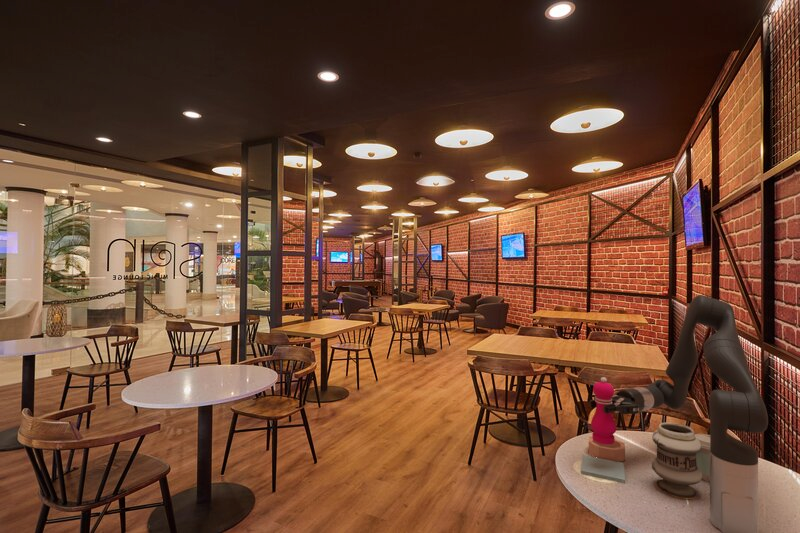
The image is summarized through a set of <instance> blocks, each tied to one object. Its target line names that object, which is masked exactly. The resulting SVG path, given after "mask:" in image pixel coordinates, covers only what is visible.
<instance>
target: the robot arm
mask: <svg viewBox="0 0 800 533" xmlns="http://www.w3.org/2000/svg"><path fill="white" fill-rule="evenodd" d="M697 324H699V325H702V326H705V327H709V328H712V329H714V330H715V333H713V334H712V335H710V336H709V337H708V338H707V339H706V340H705V341H704V344H703V347H702V350H703V355H704V358H705V364H706V366H707V367H708V369H709V370H710V372H712V373H713V374H714V375H715V376H716V377H717V378H718V379H720V380H721V381H722V382H724V383H725V384H727V385H728V386H729V387H730V388H731V389H732V390H734V391H731V390H726V389H725V390H724V389H714V390H712V391H711V392H710V395H709V400H708V408H709V409H708V410H709V425H710V427H709V428H710V430H709V431H710V433H709V435H710V482H709V522H710V523H711V524H712V525H713V526H714V527H716V528H717V529H718V530H720V531H721V533H758V526H759V525H758V523H759V522H758V515H759V514H758V511H759V510H758V508H759V506H758V505H759V502H758V500H759V499H758V498H759V496H758V495H759V454H758V450H757V449H756V448H755V447H753V446H752V445H750V444H748V443H746V442H744V441H742V440H739V439H738V438H736V437H734V436H733V435H731V434H730V433H728V430H731V431H739V432H743V433H744V432H745V433H753V434H763V433H764V432H765V431H766V430H768V425H769V416H768V411H767V408H766V404H765V403H764V400H763V397H762V396H761V393H760V390H758V387H757V385H756V383H755V381H754V379H753V376H752V374H751V370H750V367H749V363H748V360H747V357H746V354H745V351H744V348H743V346H742V343H741V339H740V337H739V333H738V329H737V323H736V317H735V311H734V308H733V307H732V305H731V304H730V303H728V302H726V301H723V300H719V299H717V298H713V297H709V296H706V295H702V294H698V295H696V296H695V297H694V298H693V299H692V300H691V301H690V303H689V306H688V307H687V310H686V314H685V317H684V319H683V324H682V326H681V330H680V332H679V336H678V340H677V344H676V346H675V350H674V352H673V354H672V356H671V358H670V360H669V363H668V365H667V366H666V369H665V374H666V375H667V377H668V378H669V379H670V380H671V381H672V383H673V384H672V383H670V382H669V381H667V380H665V379H655V380H654V381H653V382H652V383H650V384H649V385H646V386H641V387H640V386H639V387H638V386H637V387H636V386H635V387H631V388H625V389H620V390H618V391H617V392H616V394H614V395H613V396H612V397H611V398H612V404H610V405H605V406H604V413H617V414H618V413H620V414H621V415H634V414H639V413H640V412H644V411H648V410H651V409H656V408H659V407H661V406H662V405H663V404H664V405H666V406H667V407H668V408H670V409H672V410H678V409H682V408H683V407H684V406H685V404H686V401H687V399H688V391H689V390H688V389H689V384H690V379H691V377H692V375H693V374H694V371H695V369H696V367H697V364H698V361H699V360H698V358H699V355H698V350H697V345H696V342H695V330H696V327H697ZM595 396H596V395H595V394H594V396H593V399H590V400H589V402H588V403H589V404H588V407H590V408H596V402H595Z"/></svg>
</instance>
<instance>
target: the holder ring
mask: <svg viewBox="0 0 800 533" xmlns="http://www.w3.org/2000/svg"><path fill="white" fill-rule="evenodd" d="M587 446H588V447H587V448H588V454H589V455H590V454H591V455H590V456H592V455H593V456H592V457H594V456H595V457H597V458H601V459H606V460H611V461H616V462H618V461H619V462H624V460H625V461H626V447H625V446H626V445H625V442H622V440H618V439H617V438H615V437H614V443H613V444H601V443H598V442H596V441H594V440H593V438H592V436H588V445H587Z"/></svg>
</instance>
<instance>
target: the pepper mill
mask: <svg viewBox="0 0 800 533" xmlns="http://www.w3.org/2000/svg"><path fill="white" fill-rule="evenodd" d="M607 381H608V379H607V378H606V377H605V376H603V377H600V381H598V382H596V383H595V384H594V385H593V388H592V391H593V394H594V396H595V395H596V396H595V402H596V407H595V412H594V414H593V416H592V417H591V418H592V419H591V421H590V428H591V430H592V431H593V432H592V436H591V437H592V438H593V440H594V441H596V442H598V443H601V444H613V443H614V438H615V435H614V434H615V433H616V432H617V425H616V422H615V419H614V417H613V412H611V413H604V406H605V405H610V404H612V398H611V397H612V396H613V395H615V389H614V386H613V385H612V384H611V383H609V382H607Z"/></svg>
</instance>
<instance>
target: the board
mask: <svg viewBox="0 0 800 533" xmlns="http://www.w3.org/2000/svg"><path fill="white" fill-rule="evenodd" d="M580 474H581V475H585V476H590V477H594V478H598V479H603V480H608V481H613V482H617V483H620V484H621V483H622V484H626V474H625V464H624V462H622V461H619V462H616V461H611V460H606V459H601V458H596V457H594V456H592V455H590V456H589V455H586V454H585V455H584V454H582V461H581V467H580Z"/></svg>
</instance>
